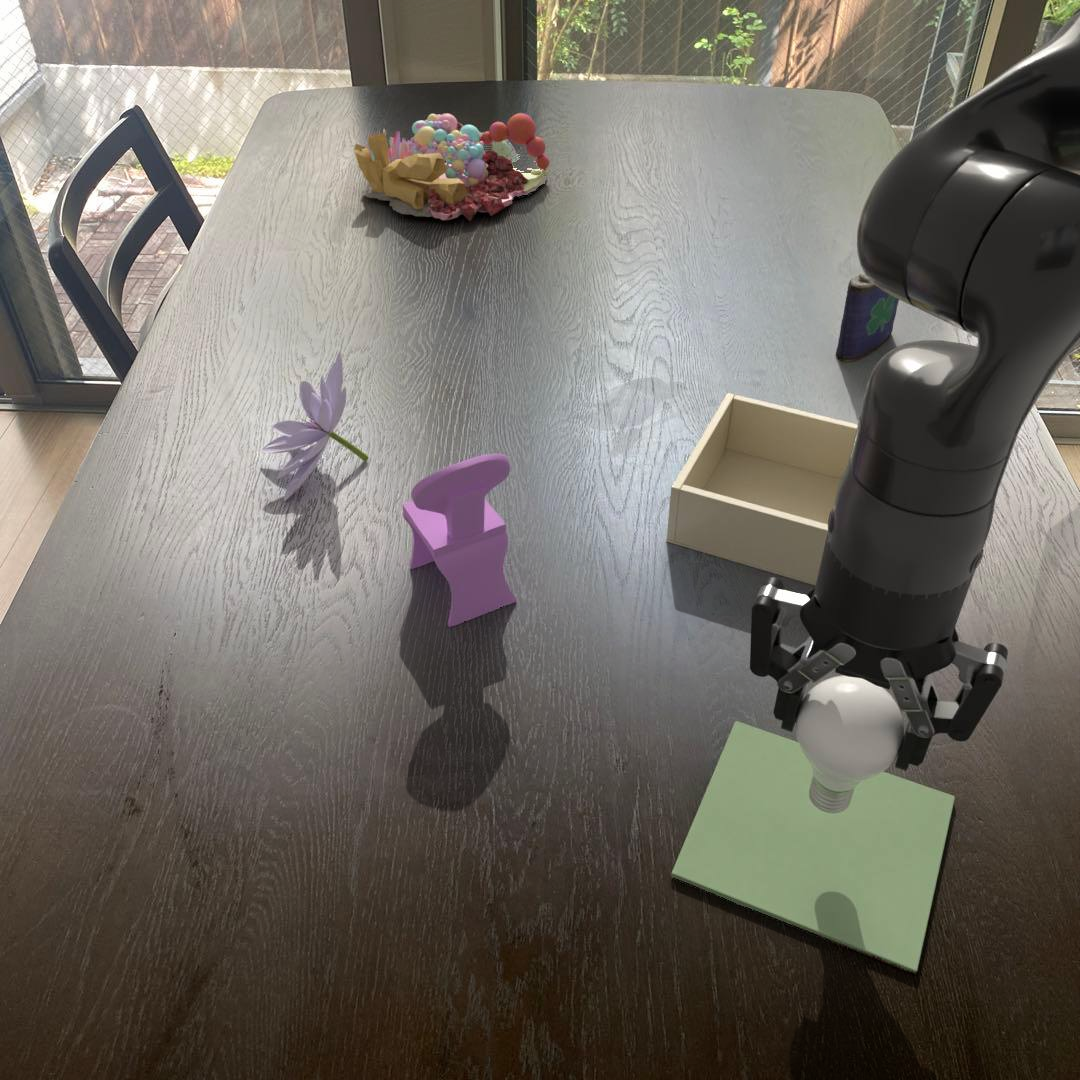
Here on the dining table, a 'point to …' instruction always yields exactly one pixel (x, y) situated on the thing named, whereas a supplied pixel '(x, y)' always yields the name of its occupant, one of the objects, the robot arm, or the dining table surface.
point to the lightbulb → (847, 737)
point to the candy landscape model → (451, 167)
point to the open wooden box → (762, 487)
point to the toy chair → (463, 534)
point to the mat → (818, 848)
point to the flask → (865, 319)
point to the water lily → (313, 427)
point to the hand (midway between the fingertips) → (845, 738)
